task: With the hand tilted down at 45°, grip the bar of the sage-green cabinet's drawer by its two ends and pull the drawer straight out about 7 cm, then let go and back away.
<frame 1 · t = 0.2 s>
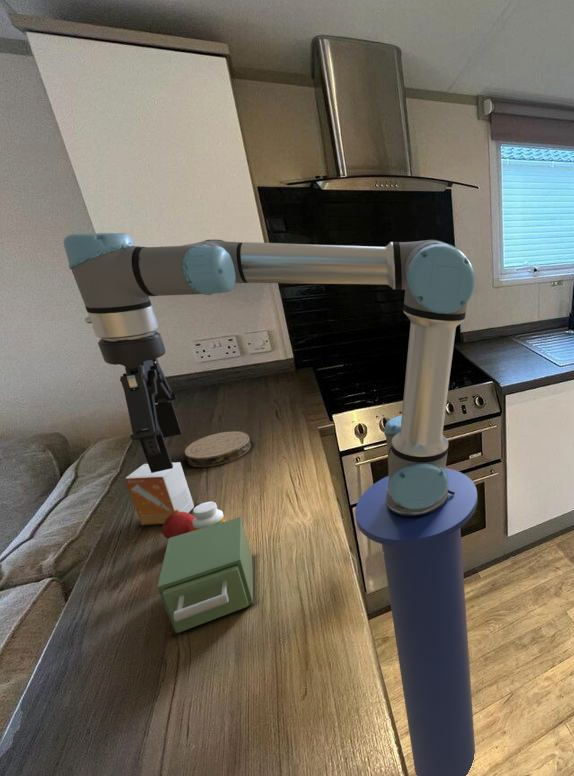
hand: (168, 451, 77), 29 cm above the table, tool pointing down, fingers open, 13 cm apart
drawer: (209, 586, 79), point 5 cm above the table, slide at 0.0 cm
small box: (169, 516, 105), on the table
supplement bottle: (216, 544, 97), on the table
onion: (184, 540, 98), on the table
cabinet: (217, 592, 84), on the table
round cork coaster: (220, 453, 132), on the table
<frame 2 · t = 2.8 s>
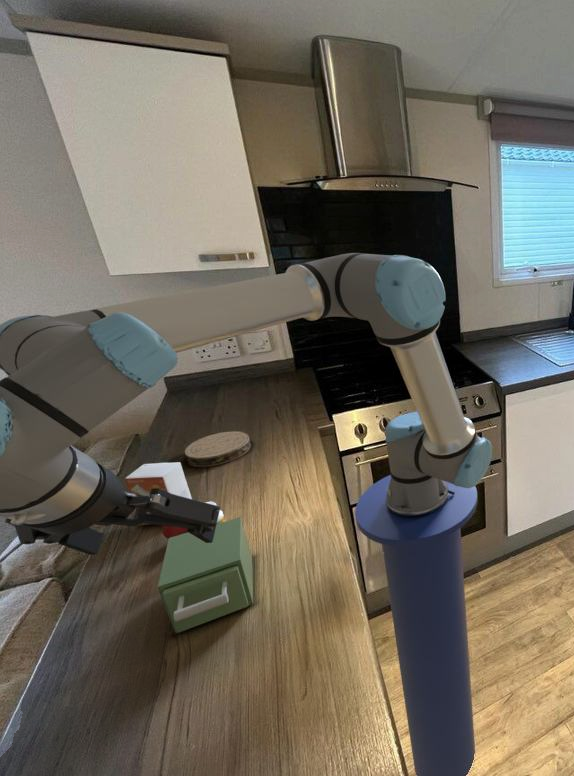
hand: (156, 538, 62), 25 cm above the table, tool tilted 35°, fingers open, 13 cm apart
nothing on the table moved.
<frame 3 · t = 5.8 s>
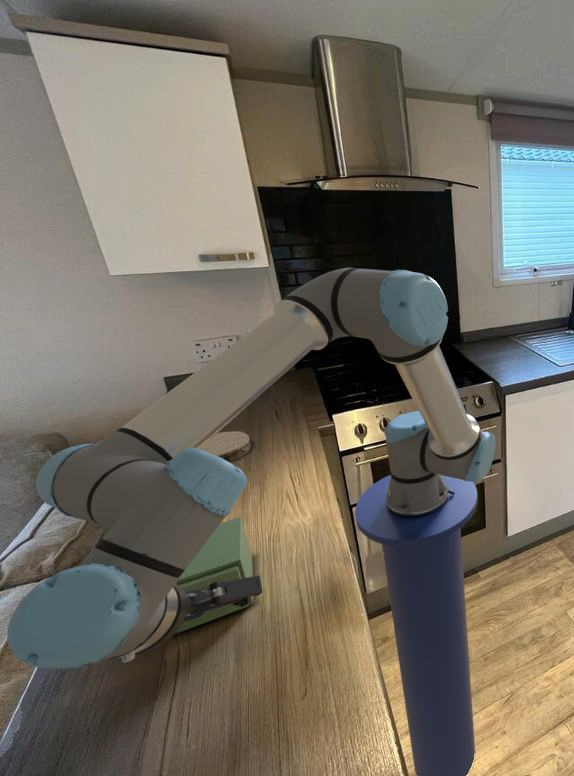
hand: (187, 616, 64), 13 cm above the table, tool tilted 45°, fingers open, 13 cm apart
nothing on the table moved.
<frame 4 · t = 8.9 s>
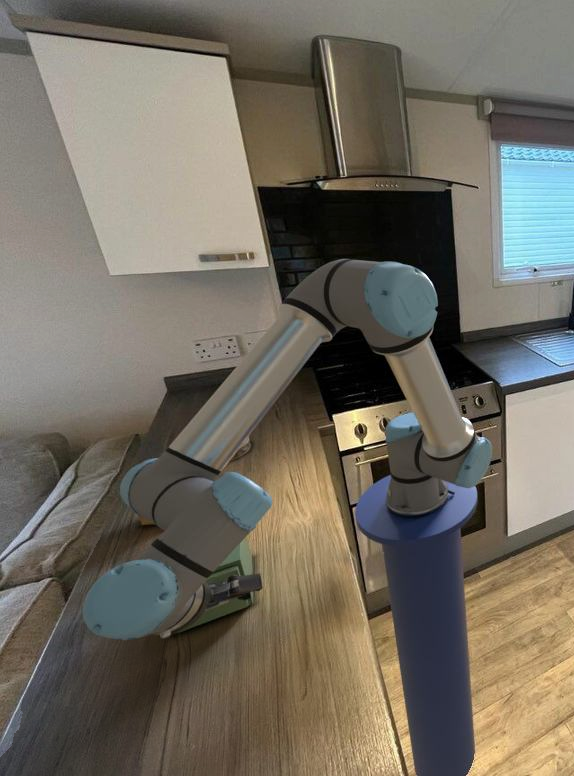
hand: (207, 605, 76), 5 cm above the table, tool tilted 45°, fingers closed on drawer, 10 cm apart
drawer: (209, 586, 79), point 5 cm above the table, slide at 0.0 cm, touching gripper
everything else where it was.
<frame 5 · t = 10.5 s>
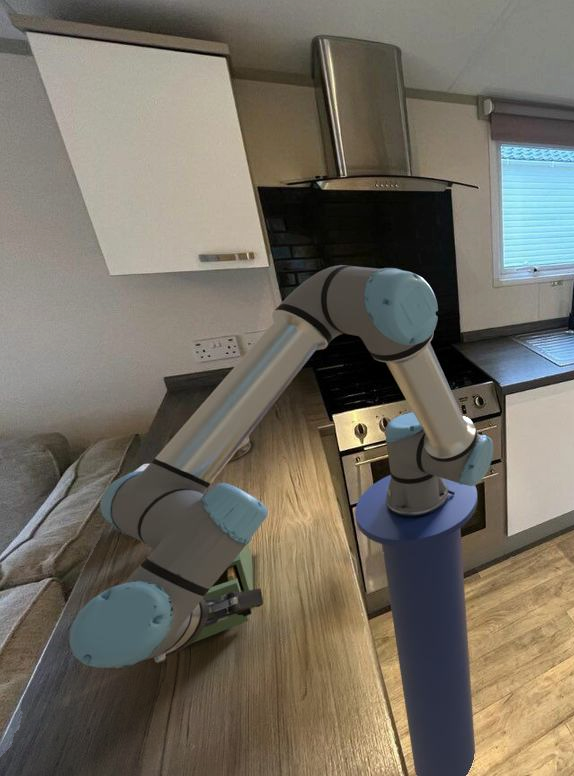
hand: (206, 621, 73), 5 cm above the table, tool tilted 45°, fingers closed on drawer, 10 cm apart
drawer: (207, 600, 76), point 5 cm above the table, slide at 3.6 cm, touching gripper
everything else where it was.
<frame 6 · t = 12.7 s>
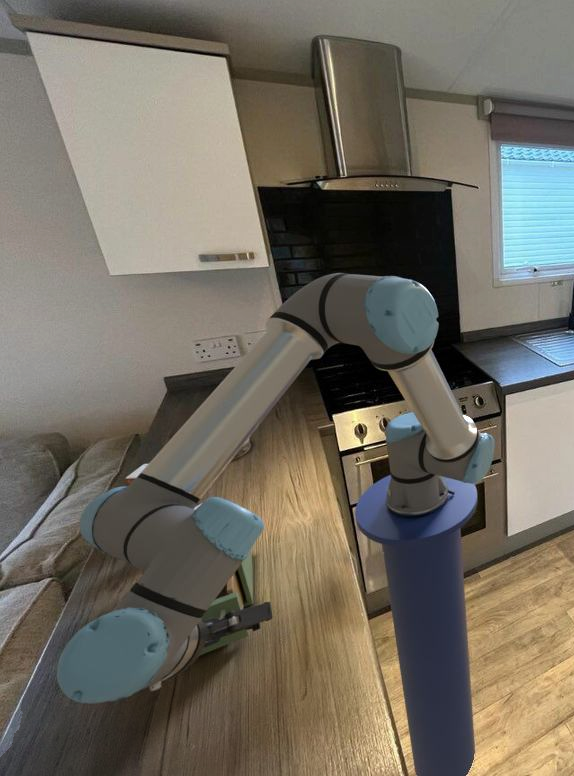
hand: (203, 639, 69), 6 cm above the table, tool tilted 45°, fingers open, 13 cm apart
drawer: (206, 614, 74), point 5 cm above the table, slide at 6.9 cm
everything else where it was.
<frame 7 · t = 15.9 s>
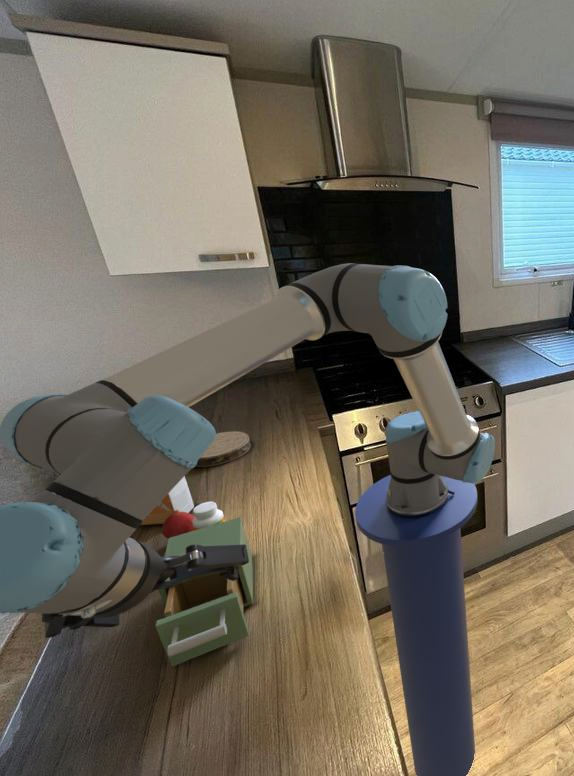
hand: (177, 592, 62), 18 cm above the table, tool tilted 40°, fingers open, 13 cm apart
nothing on the table moved.
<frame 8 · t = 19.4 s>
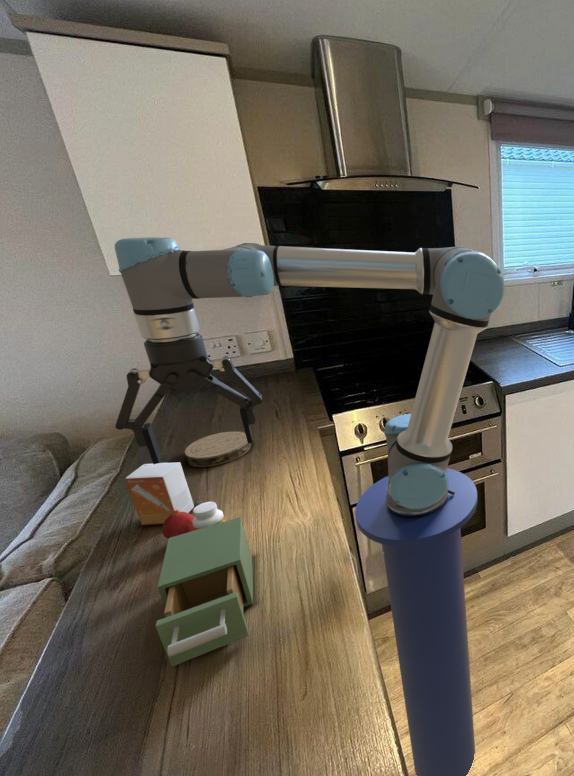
hand: (206, 449, 79), 29 cm above the table, tool pointing down, fingers open, 13 cm apart
nothing on the table moved.
at the end: drawer slide at 6.9 cm; supplement bottle moved 0.2 cm from its start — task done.
